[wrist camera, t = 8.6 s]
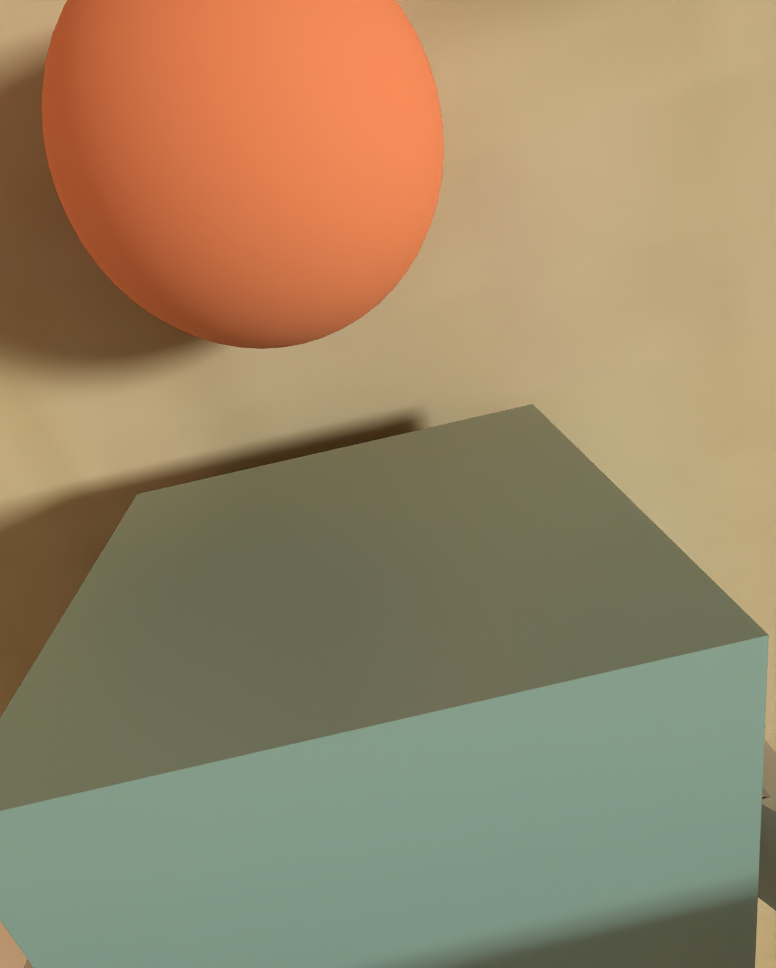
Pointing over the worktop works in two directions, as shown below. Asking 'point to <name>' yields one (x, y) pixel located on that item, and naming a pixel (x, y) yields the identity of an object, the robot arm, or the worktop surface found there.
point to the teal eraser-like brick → (390, 725)
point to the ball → (245, 157)
